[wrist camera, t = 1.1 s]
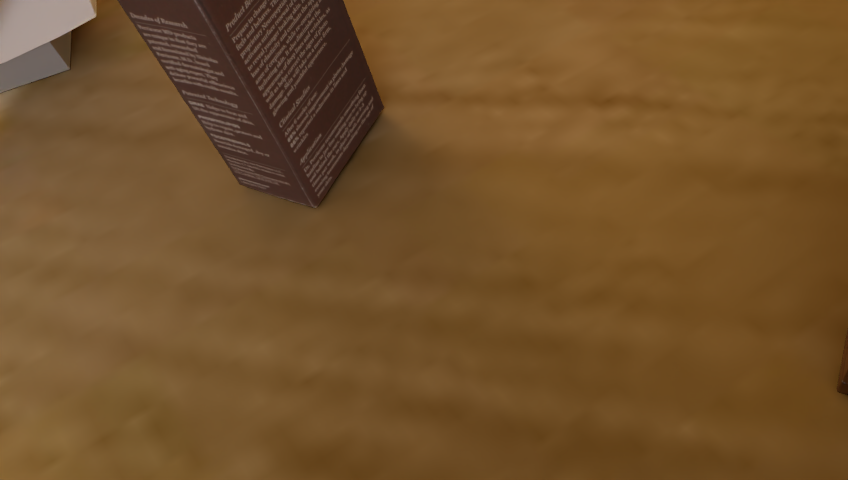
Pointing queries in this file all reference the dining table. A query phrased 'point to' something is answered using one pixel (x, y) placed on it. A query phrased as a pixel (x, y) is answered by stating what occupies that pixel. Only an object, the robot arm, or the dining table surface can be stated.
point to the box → (267, 85)
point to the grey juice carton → (38, 38)
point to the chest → (844, 371)
